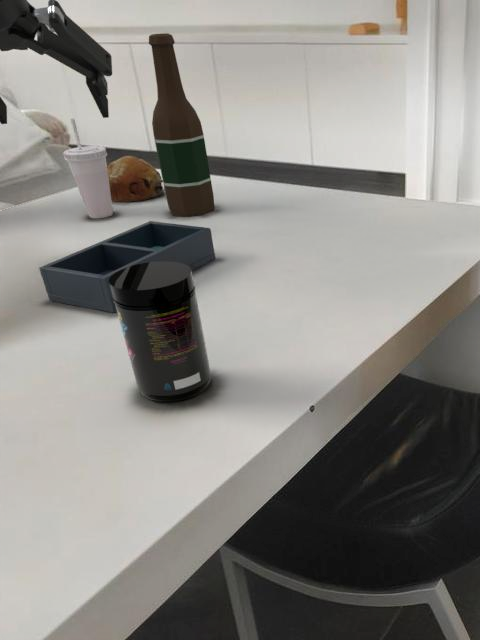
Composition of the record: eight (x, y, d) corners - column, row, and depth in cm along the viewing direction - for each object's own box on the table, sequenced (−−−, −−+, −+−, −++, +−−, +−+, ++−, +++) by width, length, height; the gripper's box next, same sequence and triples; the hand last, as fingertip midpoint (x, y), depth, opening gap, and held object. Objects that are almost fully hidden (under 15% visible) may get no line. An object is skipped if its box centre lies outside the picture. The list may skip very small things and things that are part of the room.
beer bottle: (182, 220, 107) (147, 37, 92) (159, 211, 111) (122, 35, 97) (225, 209, 110) (198, 32, 96) (200, 201, 115) (171, 31, 101)
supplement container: (187, 362, 66) (164, 255, 60) (227, 384, 62) (207, 272, 56) (124, 388, 63) (93, 277, 57) (163, 413, 59) (134, 297, 53)
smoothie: (79, 213, 112) (52, 117, 104) (119, 207, 114) (96, 113, 106) (82, 223, 107) (55, 123, 99) (124, 216, 109) (100, 119, 101)
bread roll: (151, 206, 127) (130, 163, 125) (180, 187, 120) (158, 140, 118) (107, 220, 121) (84, 174, 118) (135, 200, 114) (111, 151, 111)
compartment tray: (49, 300, 81) (38, 267, 79) (156, 250, 95) (150, 220, 93) (114, 312, 77) (104, 278, 75) (215, 258, 91) (210, 227, 89)
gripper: (-149, 11, 71) (-39, 142, 92) (94, -1, 72) (148, 131, 93) (-148, -51, 72) (-39, 92, 93) (91, -63, 74) (145, 81, 94)
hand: (55, 112), depth 93 cm, fingers open, 13 cm apart
